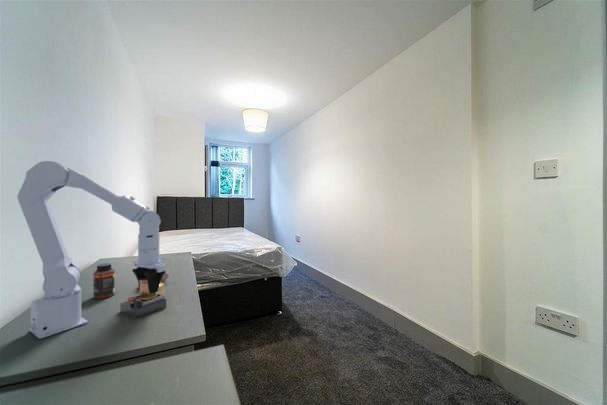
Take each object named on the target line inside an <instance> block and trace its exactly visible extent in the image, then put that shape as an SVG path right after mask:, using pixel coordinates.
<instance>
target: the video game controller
mask: <svg viewBox="0 0 607 405" xmlns="http://www.w3.org/2000/svg"><path fill="white" fill-rule="evenodd" d="M167 279H169V274H168V273H167V272H166V271H165V273H164V275H163V276H162V278H161V281H160V282H162V283H164V282H166V280H167ZM137 286H139V283H138V284H137Z"/></svg>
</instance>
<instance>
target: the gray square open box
mask: <svg viewBox="0 0 607 405" xmlns="http://www.w3.org/2000/svg"><path fill="white" fill-rule="evenodd" d="M139 297H140V294H136V295H134V296H130V297H128V298H127V301H124V302H122V303H120V307H119V308H120V312H121V313H122V314H125V315H127V316H129V317H132V318H134V320H135V319H139V318H142V317H144V316H146V315H149V314H153V313H154V312H157V311H160V310H163V309H165V308H167V298H166V295H165V294H164V295H163V294H160V293H157V297H155V298H152V299H149V300H145V301H142V300H140V299H139Z"/></svg>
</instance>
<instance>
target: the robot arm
mask: <svg viewBox="0 0 607 405" xmlns="http://www.w3.org/2000/svg"><path fill="white" fill-rule="evenodd" d="M64 187H68V188H73V189H74V188H76V189H82V190H84V191H85V192H88V193H89V194H91V195H93V196H95V197H96V198H98V199H100V200H102V201H104V202H105V203H108V204H110V206H111V211H112V212H114V213H116V214H117V215H119V216H120V217H123V218H124V219H126V220H128V221H130V222H132V223H137V225H138V226H139V227H138V228H139V230H138V231H139V232H138V233H139V234H138V235H137V236H138V238H137V242H138V243H137V245H138V246H137V248H138V249H137V253H138V254H137V259H134V260H133V267H136V268H133V269H132V273H133V274H134V276H135V277H136V280H137V283H138V284H139V285H138V287H139V288H140V283H139V279H141V278H145V277H146V278H147V281H148V288H149V293H150V294H152V293H155V292H157V291H158V288H159V284H160V281H161V278H162V276H163V275H164V273H165V272H166V264H164V263H163V262H164V261H163V259H160V225H161V222H162V220H161V217H160V215H159V214H158V213H156V212H155V211H153V210H150V207H149V206H144V205H143V204H141V203H140V202H138V201H136V197H134V196H128V195H117V194H116V193H115V192H112V191H111V190H109V189H107V188H106V187H105V186H103V185H101V184H100V183H98V182H96V181H95V180H94V179H92V178H90V177H88V176H87V175H85V174H83V173H81V172H79V171H77V170H73V169H71V168H69V167H66V166H65V165H64V166H63V165H62V164H61V163H58V162H56V161H51V160H44V161H43V160H42V161H40V162H38V163H36V164H35V165H33V166H32V167H31V168H30V169H28V170H27V171H26V172H25V178H24V181H23V182H22V185H21V186H20V189H19V191H18V193H17V195H16V196H17V200H18V203H19V205H20V208H21V212H22V214H23V216H24V219H25V221H26V223H27V227H28V229H29V232H30V234H31V237H32V240H33V242H34V244H35V247H36V250H37V251H38V254H39V256H40V260H41V262H42V276H43V284H42V290H43V292H44V293H45V294H44V295H43V297H40V298H37V299H34V300H32V301H31V303H30V329H29V332H31V333H32V334H33V335H34V336H35V337H37V338H38V339H39V340H40V339H44V338H47V337H49V336H52V335H56V334H58V333H62V332H64V331H67V330H70V329H74V328H75V327H79V326H82V325H85V324H87V323H88V319H85V318H84V317H82V287H81V286H79V284H78V282H79V281H80V280H81V277H82V271H81V269H80V268H79V267H77V266H76V265H75V264H74V263H73V262H74V261H73V259H72V258H71V257H70V256H69V254H68V252H67V250H66V247H65V244H64V241H63V239H62V236H61V233H60V230H59V228H58V225H57V222H56V220H55V216H54V215H53V214H54V213H53V211H52V209H51V207H50V203H49V199H50V198H51V197H52V196H53V195H54V194H55V193H56V192H57V191H59V190H60V189H62V188H64Z"/></svg>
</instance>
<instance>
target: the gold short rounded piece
mask: <svg viewBox="0 0 607 405" xmlns="http://www.w3.org/2000/svg"><path fill="white" fill-rule="evenodd" d="M157 293H160V294H163V295H165V283H164V282H160V284H159V288H158V291H157Z"/></svg>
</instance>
